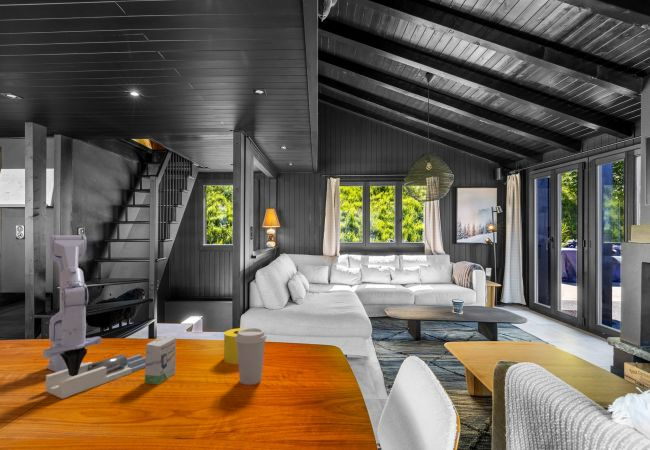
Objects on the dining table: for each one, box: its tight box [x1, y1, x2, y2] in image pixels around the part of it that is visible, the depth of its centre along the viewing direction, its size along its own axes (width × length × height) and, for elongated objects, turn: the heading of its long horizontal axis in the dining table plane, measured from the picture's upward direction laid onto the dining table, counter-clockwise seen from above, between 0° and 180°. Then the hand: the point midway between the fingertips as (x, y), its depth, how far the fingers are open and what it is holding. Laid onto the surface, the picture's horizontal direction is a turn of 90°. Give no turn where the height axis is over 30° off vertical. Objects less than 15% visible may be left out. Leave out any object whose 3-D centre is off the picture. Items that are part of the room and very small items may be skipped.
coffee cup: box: [235, 327, 267, 386], centre depth 112 cm, size 10×10×15 cm
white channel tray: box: [45, 361, 133, 400], centre depth 110 cm, size 9×20×4 cm, turn 151°
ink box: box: [144, 336, 177, 386], centre depth 113 cm, size 9×5×12 cm, turn 168°
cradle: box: [126, 353, 146, 373], centre depth 122 cm, size 8×7×2 cm
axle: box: [87, 353, 128, 373], centre depth 114 cm, size 10×4×4 cm, turn 149°
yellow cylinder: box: [223, 327, 246, 365], centre depth 130 cm, size 10×10×9 cm
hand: (73, 374), depth 106 cm, fingers closed
